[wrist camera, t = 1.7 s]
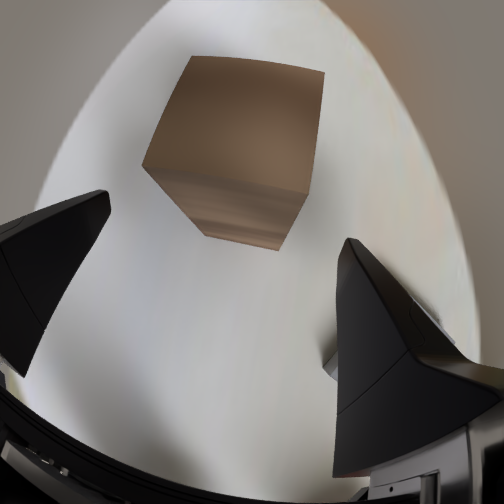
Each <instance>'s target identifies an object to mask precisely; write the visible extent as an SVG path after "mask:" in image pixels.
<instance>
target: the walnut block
mask: <svg viewBox="0 0 504 504" xmlns="http://www.w3.org/2000/svg"><path fill="white" fill-rule="evenodd" d="M324 74H325V72H321V71H316V70H312V69H307V68H302V67H297V66H292V65H287V64H281V63H274V62H268V61H260V60H252V59H242V58H231V57H214V56H191V58H190V60H189V62H188V64H187V65H186V67H185V69H184V71H183V73H182V75H181V77H180V79H179V81H178V83H177V85H176V87H175V89H174V91H173V93H172V95H171V97H170V99H169V101H168V103H167V105H166V107H165V110H164V112H163V114H162V116H161V118H160V121H159V123H158V125H157V128H156V130H155V132H154V135H153V137H152V140H151V142H150V145H149V147H148V150H147V152H146V155H145V158H144V160H143V163H142V167H143V168H144V169H145V170H146V171H147V173H148V174H149V175H150V176H151V177H152V178H153V179H154V180H155V181H156V183H157V184H158V185H159V186H160V187H161V188H162V189H163V190H164V191H165V193H166V194H167V195H168V196H169V197H170V198H171V199H172V200H173V201H174V203H175V204H176V205H177V206H178V207H179V208H180V209H181V210H182V211H183V212H184V213H185V215H186V216H187V217H188V218H189V219H190V220H191V221H192V222H193V223H194V224H195V225H196V227H197V228H198V229H199V230H200V231H201V232H202V233H203V234H204V235H205V236H209V237H213V238H218V239H223V240H228V241H233V242H237V243H242V244H247V245H252V246H256V247H261V248H266V249H271V250H275V251H279V249H280V247H281V246H282V244H283V242H284V240H285V238H286V236H287V234H288V232H289V231H290V229H291V227H292V225H293V223H294V221H295V219H296V217H297V215H298V213H299V212H300V210H301V208H302V206H303V204H304V202H305V200H306V198H307V196H308V194H309V188H310V182H311V176H312V169H313V162H314V156H315V149H316V141H317V134H318V126H319V119H320V110H321V102H322V93H323V84H324Z"/></svg>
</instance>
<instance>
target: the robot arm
mask: <svg viewBox="0 0 504 504" xmlns="http://www.w3.org/2000/svg"><path fill="white" fill-rule="evenodd" d="M110 214H111V205H110V197H109V193H108V191H106V190H96V191H93V192H89V193H86V194H83V195H80V196H77V197H74V198H71V199H68V200H65V201H62V202H59V203H57V204H54V205H51V206H48V207H46V208H43V209H40V210H38V211H35V212H33V213H30V214H28V215H25V216H22V217H20V218H18V219H15V220H13V221H10V222H8V223H5V224H3V225H0V367H1V365H2V363H3V362H4V363H5V364H7V365H8V366H9V367H10V368H11V369H13V370H14V371H15V372H16V373H18V374H19V375H20V376H22V377H23V378H25V376H26V374H27V371H28V369H29V366H30V364H31V361H32V359H33V356H34V354H35V352H36V349H37V347H38V345H39V342H40V340H41V338H42V336H43V334H44V332H45V331H44V330H45V329H46V327H47V325H48V323H49V321H50V319H51V317H52V315H53V313H54V311H55V309H56V307H57V305H58V303H59V301H60V300H61V298H62V296H63V294H64V292H65V291H66V289H67V287H68V285H69V284H70V282H71V280H72V278H73V277H74V275H75V273H76V272H77V270H78V268H79V267H80V265H81V263H82V262H83V260H84V259H85V257H86V255H87V254H88V252H89V251H90V249H91V248H92V246H93V244H94V243H95V241H96V239H97V237H98V236H99V234H100V232H101V230H102V228H103V227H104V225H105V223H106V221H107V219H108V218H109V216H110ZM336 314H337V344H338V394H337V419H336V437H335V451H334V463H333V474H332V477H333V478H348V477H365V476H370V484H369V487H365V488H362V489H361V490H359V491H358V492H357V493H356V494H355V495H354V496H353V497H352V498H351V499H350V500H349V501H348V502H336V503H292V502H276V501H266V500H257V499H249V498H242V497H236V496H230V495H225V494H220V493H215V492H210V491H206V490H202V489H198V488H194V487H190V486H186V485H183V484H179V483H176V482H173V481H170V480H167V479H164V478H161V477H158V476H155V475H152V474H149V473H147V472H144V471H141V470H139V469H136V468H134V467H131V466H129V465H127V464H124V463H122V462H120V461H117V460H115V459H113V458H111V457H109V456H107V455H105V454H103V453H101V452H99V451H97V450H95V449H93V448H91V447H89V446H87V445H85V444H84V443H82V442H80V441H78V440H76V439H75V438H73V437H71V436H70V435H68V434H66V433H65V432H63V431H62V430H60V429H58V428H57V427H55V426H54V425H52V424H51V423H49V422H48V421H46V420H45V419H43V418H42V417H41V416H39V415H38V414H36V413H35V412H34V411H32V410H31V409H30V408H28V407H27V406H26V405H24V404H23V403H22V402H21V401H19V400H18V399H17V398H16V397H14V396H13V395H12V394H11V393H10V392H8V391H7V390H6V384H5V376H4V374H3V373H2V372H1V371H0V504H504V369H500V368H495V367H491V366H486V365H481V364H477V363H475V362H472V361H470V360H469V359H467V358H466V357H465V356H464V355H463V354H462V353H461V352H460V351H459V350H458V349H457V348H456V347H455V345H454V344H453V343H452V342H451V341H450V340H449V339H448V338H447V337H446V335H445V334H444V333H443V332H442V331H441V330H440V329H439V328H438V327H437V326H436V325H435V323H434V322H433V321H432V320H431V319H430V318H429V317H428V316H427V315H426V313H425V312H424V311H423V310H422V309H421V308H420V306H419V305H418V304H417V303H416V302H415V301H414V300H413V298H412V297H411V296H410V295H409V294H408V292H407V291H406V290H405V289H404V288H403V287H402V286H401V285H400V283H399V282H398V281H397V280H396V279H395V278H394V277H393V276H392V275H391V274H390V272H389V271H388V270H387V269H386V268H385V267H384V266H383V265H382V264H381V263H380V262H379V261H378V260H377V259H376V257H375V256H374V255H373V254H372V253H371V252H370V251H369V250H368V249H367V248H366V247H365V246H364V245H363V244H362V243H361V242H360V241H359V240H357V239H353V238H347V239H346V240H345V243H344V245H343V248H342V250H341V252H340V255H339V258H338V267H337V287H336ZM26 448H27V449H26ZM33 452H34V453H33ZM35 453H36V454H35ZM42 460H44V461H46V462H48V463H49V464H48V463H45V462H43V461H42ZM60 471H62V472H63V473H62V474H61V473H60Z"/></svg>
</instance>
